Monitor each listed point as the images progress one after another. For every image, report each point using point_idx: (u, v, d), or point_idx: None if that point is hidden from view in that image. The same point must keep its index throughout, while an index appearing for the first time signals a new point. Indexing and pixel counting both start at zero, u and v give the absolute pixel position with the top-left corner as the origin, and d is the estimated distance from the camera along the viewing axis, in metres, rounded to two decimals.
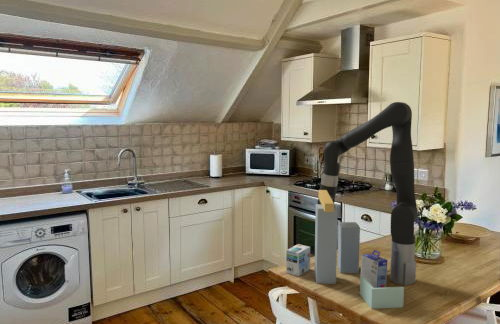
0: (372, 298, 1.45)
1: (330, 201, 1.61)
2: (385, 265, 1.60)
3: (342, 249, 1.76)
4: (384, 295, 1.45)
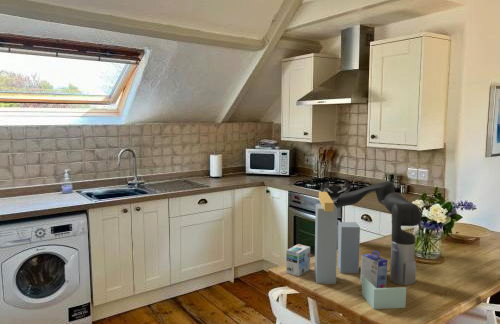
0: (374, 298, 1.44)
1: (330, 201, 1.61)
2: (385, 265, 1.60)
3: (342, 249, 1.76)
4: (386, 295, 1.45)
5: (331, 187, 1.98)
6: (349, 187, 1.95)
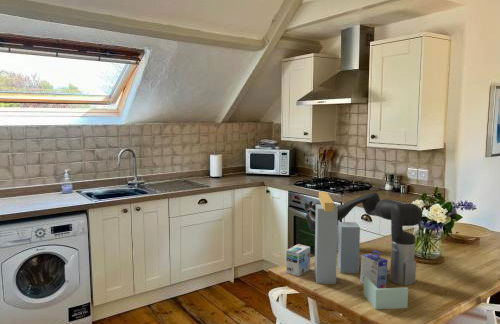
0: (376, 299, 1.44)
1: (330, 201, 1.61)
2: (385, 265, 1.60)
3: (342, 249, 1.76)
4: (388, 296, 1.44)
5: (315, 206, 1.90)
6: None
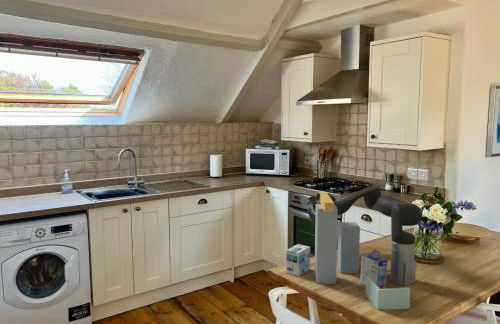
0: (378, 299, 1.44)
1: (330, 201, 1.61)
2: (385, 265, 1.60)
3: (342, 249, 1.76)
4: (390, 296, 1.44)
5: None
6: (332, 199, 1.77)
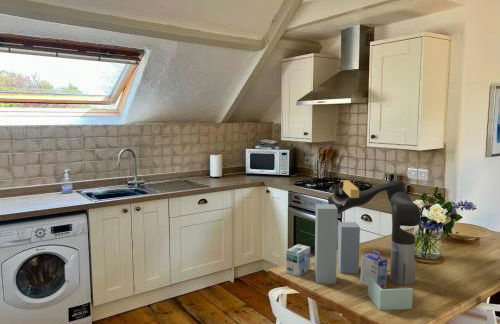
0: (381, 299, 1.44)
1: (355, 188, 1.68)
2: (385, 265, 1.60)
3: (342, 249, 1.76)
4: (393, 296, 1.44)
5: None
6: None
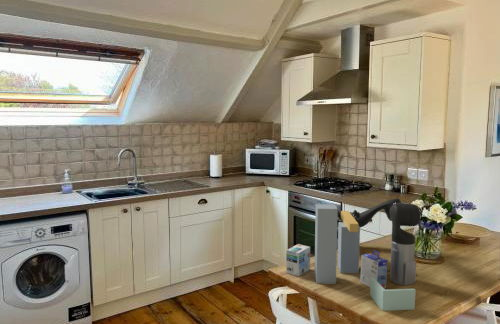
0: (383, 300, 1.43)
1: (354, 221, 1.70)
2: (385, 265, 1.60)
3: (342, 249, 1.76)
4: (395, 297, 1.43)
5: (340, 215, 1.90)
6: (358, 216, 1.87)
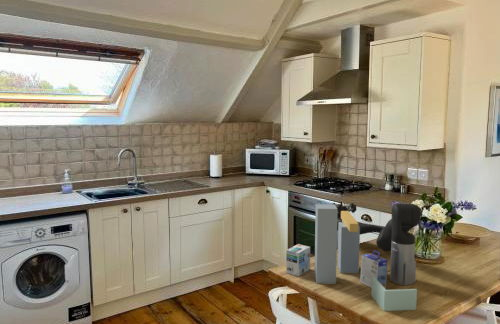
0: (385, 300, 1.43)
1: (354, 221, 1.70)
2: (385, 265, 1.60)
3: (342, 249, 1.76)
4: (397, 297, 1.43)
5: (337, 208, 2.00)
6: (355, 208, 1.97)
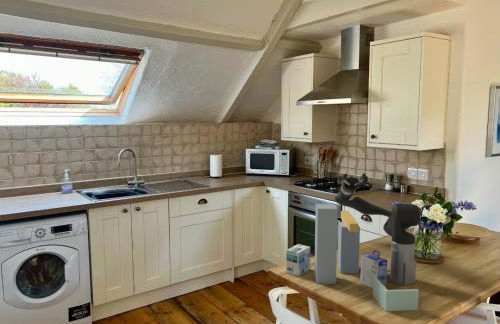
0: (386, 300, 1.43)
1: (354, 221, 1.70)
2: (385, 265, 1.60)
3: (342, 249, 1.76)
4: (398, 297, 1.43)
5: (348, 179, 1.98)
6: (366, 179, 1.96)
